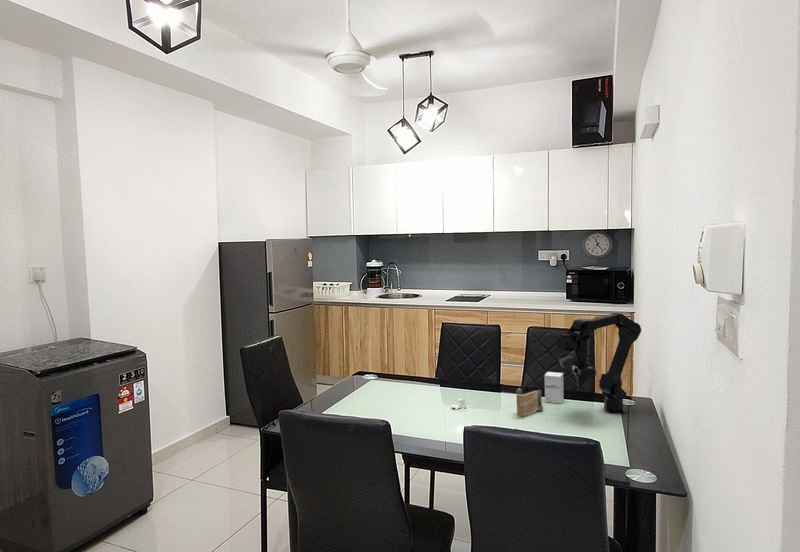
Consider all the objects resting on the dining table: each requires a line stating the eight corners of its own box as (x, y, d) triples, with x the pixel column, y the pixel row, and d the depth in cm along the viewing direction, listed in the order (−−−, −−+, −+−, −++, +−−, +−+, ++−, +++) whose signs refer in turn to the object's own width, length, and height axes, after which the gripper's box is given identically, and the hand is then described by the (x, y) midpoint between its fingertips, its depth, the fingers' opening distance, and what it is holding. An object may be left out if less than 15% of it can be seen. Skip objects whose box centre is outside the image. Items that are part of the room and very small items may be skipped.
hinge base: (541, 409, 217) (541, 405, 217) (543, 411, 215) (543, 407, 215) (535, 409, 217) (535, 405, 217) (537, 411, 215) (537, 407, 214)
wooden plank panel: (542, 408, 216) (542, 389, 215) (520, 416, 207) (520, 396, 207) (539, 407, 217) (538, 388, 217) (517, 415, 209) (516, 395, 208)
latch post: (522, 413, 213) (521, 387, 213) (523, 415, 211) (522, 388, 210) (516, 413, 213) (515, 387, 213) (517, 415, 211) (517, 389, 210)
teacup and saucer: (449, 410, 223) (449, 401, 222) (456, 405, 230) (455, 396, 229) (468, 412, 219) (467, 403, 218) (474, 407, 226) (473, 398, 225)
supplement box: (544, 402, 227) (543, 375, 226) (547, 397, 234) (547, 371, 233) (561, 404, 224) (560, 376, 223) (564, 399, 230) (563, 372, 230)
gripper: (554, 346, 214) (553, 382, 215) (569, 353, 196) (567, 393, 196) (580, 346, 214) (578, 382, 215) (597, 354, 196) (595, 394, 196)
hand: (579, 388), depth 205 cm, fingers closed
